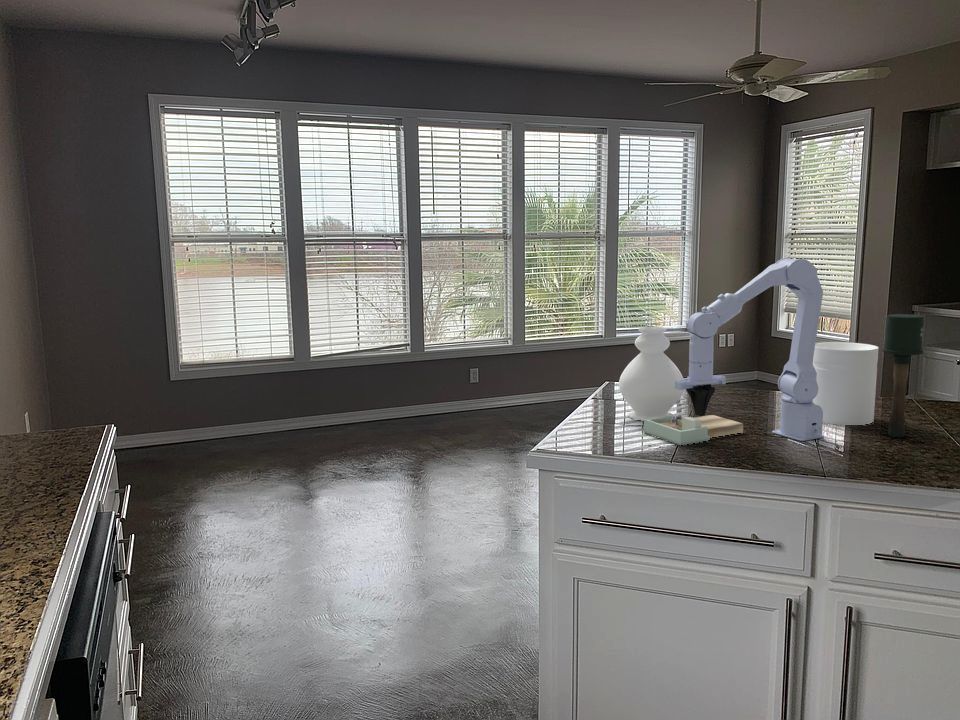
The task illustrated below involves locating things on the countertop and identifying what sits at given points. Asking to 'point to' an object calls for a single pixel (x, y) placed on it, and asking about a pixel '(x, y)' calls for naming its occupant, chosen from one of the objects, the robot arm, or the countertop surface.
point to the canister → (846, 382)
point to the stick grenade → (901, 361)
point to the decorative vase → (651, 377)
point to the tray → (675, 432)
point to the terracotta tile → (669, 425)
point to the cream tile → (690, 423)
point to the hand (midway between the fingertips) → (699, 415)
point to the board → (718, 425)
